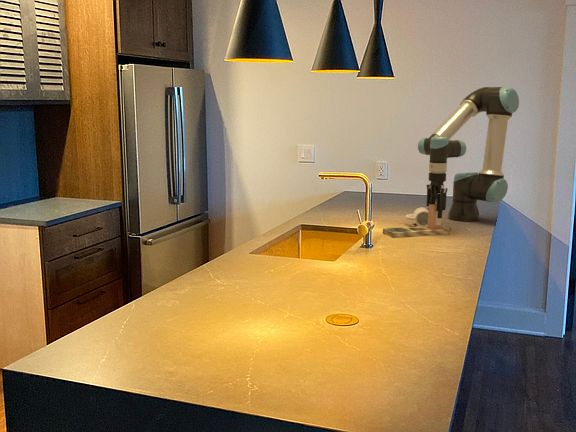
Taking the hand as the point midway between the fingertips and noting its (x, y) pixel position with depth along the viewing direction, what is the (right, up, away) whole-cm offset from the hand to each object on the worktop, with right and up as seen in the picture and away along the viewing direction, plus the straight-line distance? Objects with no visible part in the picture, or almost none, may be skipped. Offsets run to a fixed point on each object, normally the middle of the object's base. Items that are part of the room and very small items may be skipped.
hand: (434, 223), depth 292 cm
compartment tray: (-9, -4, -2) cm, 10 cm away
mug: (-4, -1, +16) cm, 16 cm away
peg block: (0, -3, +1) cm, 3 cm away
